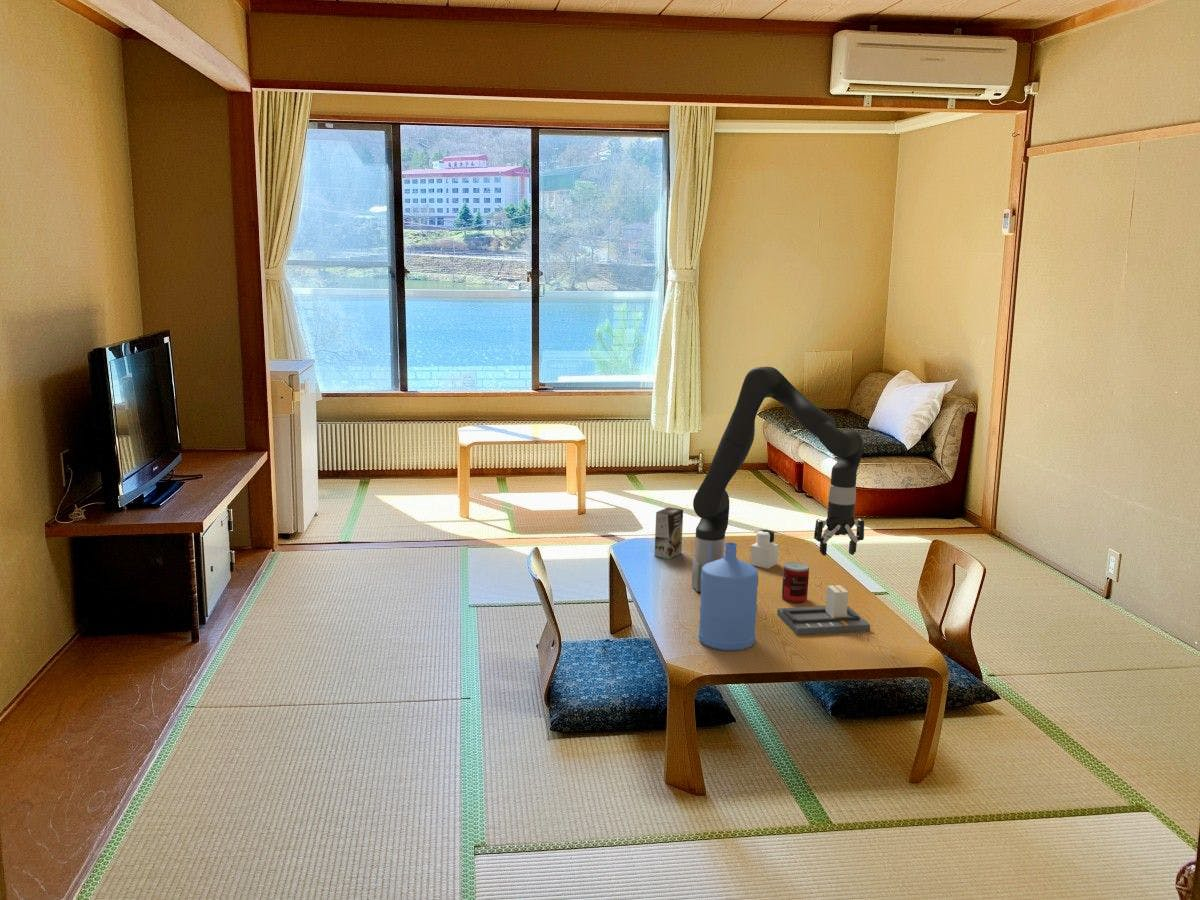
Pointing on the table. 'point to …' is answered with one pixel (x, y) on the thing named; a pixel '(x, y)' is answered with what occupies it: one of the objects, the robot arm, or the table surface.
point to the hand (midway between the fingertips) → (837, 554)
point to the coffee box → (668, 532)
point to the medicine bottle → (764, 550)
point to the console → (821, 621)
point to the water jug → (728, 602)
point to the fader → (836, 601)
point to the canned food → (795, 582)
